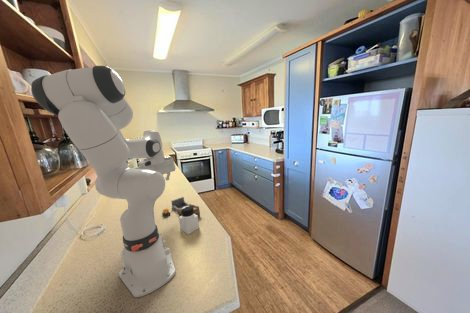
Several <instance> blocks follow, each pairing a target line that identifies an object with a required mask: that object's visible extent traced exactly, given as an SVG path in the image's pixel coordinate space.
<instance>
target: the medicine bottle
mask: <svg viewBox="0 0 470 313" xmlns="http://www.w3.org/2000/svg"><path fill="white" fill-rule="evenodd" d="M181 213H182V214H181V215H179V217H178V222H179V229H180V231H182V232H184V233H185V234H186V235H190V234H191V233H193V232H195V231H197V230H198V229H199V228H200V224H199V223H200V222H199V221H200V220H199V217H198V216H197V215H195V214H194V209H193V207H192V206H185V207H183V208H182V209H181Z"/></svg>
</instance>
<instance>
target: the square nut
mask: <svg viewBox="0 0 470 313" xmlns="http://www.w3.org/2000/svg"><path fill="white" fill-rule="evenodd" d="M161 214H162V217H164V218H166V217H168V216H171V211H168V213H166V214H164V213H163V212H161Z"/></svg>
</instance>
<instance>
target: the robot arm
mask: <svg viewBox="0 0 470 313" xmlns="http://www.w3.org/2000/svg"><path fill="white" fill-rule="evenodd" d="M30 84H31V85H30V86H31V94H32V97H33V98H34V101H36V103H37V104H38V105H39V106H40V107H41V108H42V109H44V110H46V111H48V112H49V113H50V114H53V115H54V116H57V118H58V120H59V123H60V124H61V126H62V129H64V131H65V134H66V135H67V136H68V138H69V139H70V141H71V142H72V143H73V144H74V146H75V147H76V149H77V150H78V151H79V152H80V153H81V155H82V156H83V157H84V158H85V159H86V160H87V162H88V163H89V164H90V165H91V167H92V169H93V171H94V172H95V174H96V180H95V183H94V184H95V190H96V191H97V193H99V194H100V195H102V196H105V197H107V198H110V199H115V200H117V199H118V200H126V202H127V206H128V207H127V209H125V210H124V211H123V213H122V214H121V215H120V218H119V221H120V226H121V230H122V231H121V232H122V244H123V246H124V247H123V250H122V251H121V252H120V256H121V261H122V266H123V268H121V270H119V272H118V277H119V279H120V280H121V281H122V282H123V284H124V285H125V286H126V287H127V289H128V290H129V292H130V293H131V294H132V296H133V297H134V298H140V297H144V296H146V295H148V294H150V293H152V292H154V291H156V290H158V289H159V288H161V287H163V286H164V285H165V284H166V283H168V282H169V281H170V280H171V279H173V277H174V276H175V274H176V273H177V271H176V268H175V264H174V260H173V258H172V257H173V256H172V252H171V249H170V247H166V246H164V245H166V240H163V238H162V234H161V233H159V228H158V225H157V224H156V221H155V220H156V218H155V212H154V210H155V203H156V201H157V200H158V199H159V198H160V197H161V196H162V195H163V193H164V191H165V188H166V181H170V177H171V173H172V172H175V171H176V165H175V161H174V157H173V156H165V155H164V151H163V143H162V137H161V134H160V132H159V131H157V130H145V131H143V134H142V135H143V137H142V138H139V139H138V138H137V139H136V138H135V139H134V138H133V139H129V138H126V137H124V135H123V133H122V131H121V130H123V129H125V127H127V126H128V125H129V124H131V122H132V119H133V118H134V112H133V109H132V107H131V105H130V104H129V102H128V101H127V100H126V98H125V95H126V88H125V84H124V82H123V80H122V78H121V77H120V75H119V74H118V72H116V71H115V69H113V68H111V67H109V66H107V65H94V66H93V67H91V66H90V67H82V68H75V69H71V68H70V69H65V70H62V71H57V72H55V73H52V74H49V75H45V74H44V75H43V76H40V77H37V78H36V79H35V80H33V81H32V82H31V83H30ZM136 159H141V160H139V161H138V162H137V165H138V167H137V168H131V167H130V166H129V165H128V163H127V161H128V160H129V161H130V160H136ZM165 174H166V177H165V176H164V175H165Z"/></svg>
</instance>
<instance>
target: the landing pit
mask: <svg viewBox="0 0 470 313" xmlns="http://www.w3.org/2000/svg"><path fill="white" fill-rule="evenodd" d="M170 202H171V208H172V209H173V210H174V211H175V212H177V214H179V213H178V208H180V209H182V208H183V207H185V206H190V205H189V204H190V203H188V202H186V200H185V197H184V196H181V197H179V198H176V199H173V200H171V201H170Z"/></svg>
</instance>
